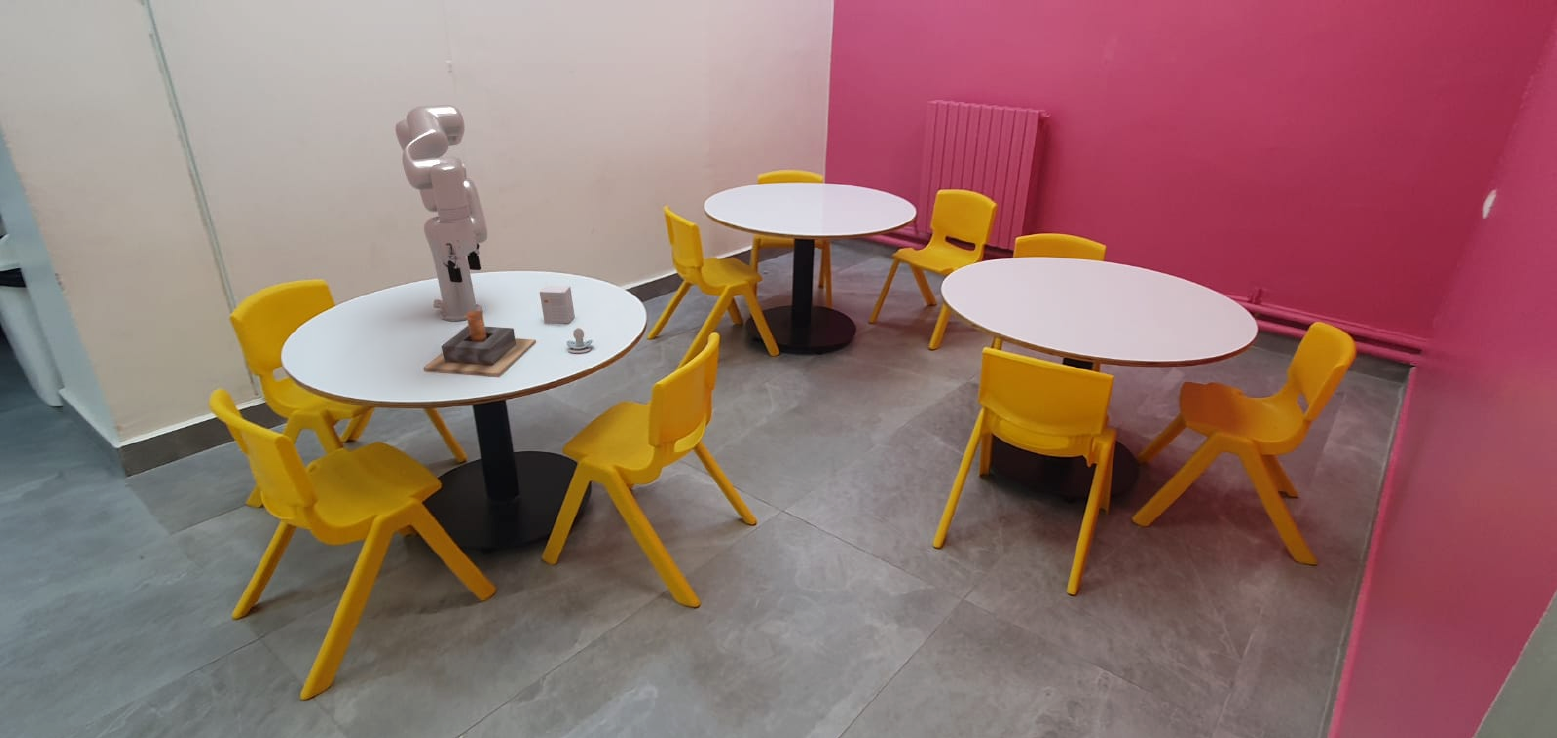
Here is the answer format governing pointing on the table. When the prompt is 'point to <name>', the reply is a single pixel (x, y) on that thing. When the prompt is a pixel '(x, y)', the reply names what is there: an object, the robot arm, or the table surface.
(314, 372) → the table surface
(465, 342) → the socket
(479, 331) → the peg
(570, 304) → the small box
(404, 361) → the table surface
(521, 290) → the table surface
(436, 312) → the table surface
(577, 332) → the pacifier
